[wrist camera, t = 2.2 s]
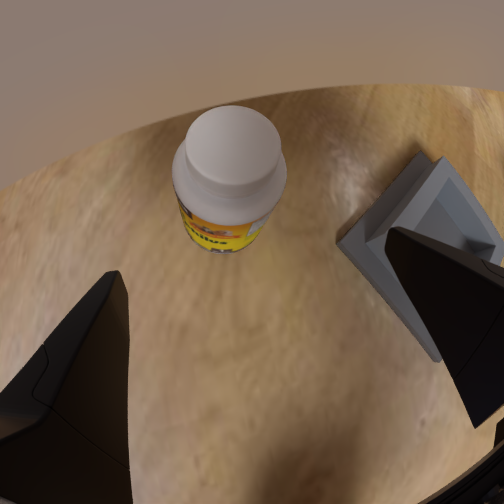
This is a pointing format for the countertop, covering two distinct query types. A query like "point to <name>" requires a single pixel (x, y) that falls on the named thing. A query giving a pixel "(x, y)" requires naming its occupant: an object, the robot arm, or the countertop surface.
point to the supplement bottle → (228, 177)
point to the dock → (420, 231)
